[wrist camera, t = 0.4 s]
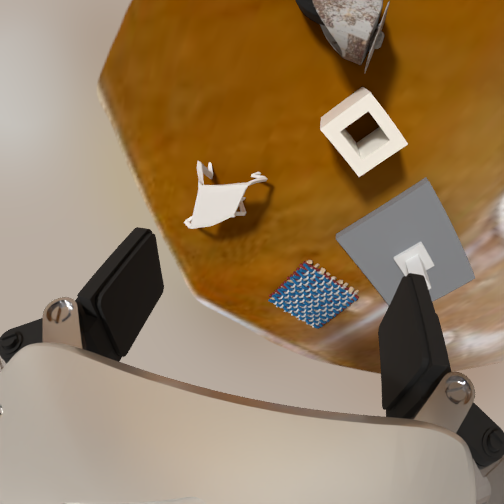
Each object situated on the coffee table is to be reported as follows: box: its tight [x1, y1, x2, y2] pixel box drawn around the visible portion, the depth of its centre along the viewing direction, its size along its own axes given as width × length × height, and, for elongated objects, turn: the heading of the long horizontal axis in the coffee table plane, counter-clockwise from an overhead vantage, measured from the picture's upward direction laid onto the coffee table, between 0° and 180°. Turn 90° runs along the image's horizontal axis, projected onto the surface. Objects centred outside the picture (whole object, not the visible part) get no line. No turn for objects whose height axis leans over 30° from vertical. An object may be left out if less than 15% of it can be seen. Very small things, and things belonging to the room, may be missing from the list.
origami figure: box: [184, 161, 267, 229], centre depth 37 cm, size 12×8×5 cm
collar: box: [320, 87, 408, 177], centre depth 28 cm, size 6×6×6 cm
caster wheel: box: [296, 0, 390, 74], centre depth 21 cm, size 7×11×10 cm
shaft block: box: [336, 178, 475, 305], centre depth 35 cm, size 14×18×6 cm
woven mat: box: [268, 260, 359, 328], centre depth 46 cm, size 10×11×2 cm
